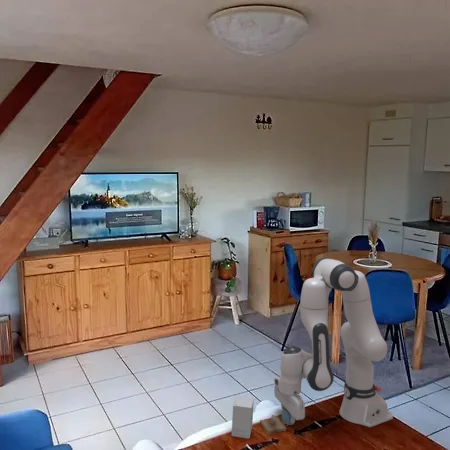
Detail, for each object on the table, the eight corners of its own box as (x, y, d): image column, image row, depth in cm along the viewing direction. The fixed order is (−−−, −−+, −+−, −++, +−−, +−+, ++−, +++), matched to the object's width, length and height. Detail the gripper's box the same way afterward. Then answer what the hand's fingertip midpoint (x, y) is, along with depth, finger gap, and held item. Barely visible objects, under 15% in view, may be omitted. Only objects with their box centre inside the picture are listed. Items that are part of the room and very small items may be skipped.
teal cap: (290, 417, 189) (291, 406, 188) (296, 424, 184) (297, 412, 183) (279, 419, 187) (280, 408, 186) (285, 426, 182) (286, 414, 182)
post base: (277, 420, 186) (278, 409, 186) (286, 430, 179) (287, 420, 178) (259, 423, 184) (260, 412, 183) (268, 434, 176) (268, 423, 176)
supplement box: (249, 439, 173) (251, 408, 171) (231, 436, 174) (232, 405, 172) (252, 428, 180) (254, 398, 178) (234, 425, 181) (235, 396, 180)
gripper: (310, 397, 175) (307, 431, 177) (285, 374, 194) (283, 404, 196) (295, 400, 173) (293, 433, 174) (272, 376, 192) (270, 406, 193)
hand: (288, 418), depth 185 cm, fingers closed on teal cap, 5 cm apart
